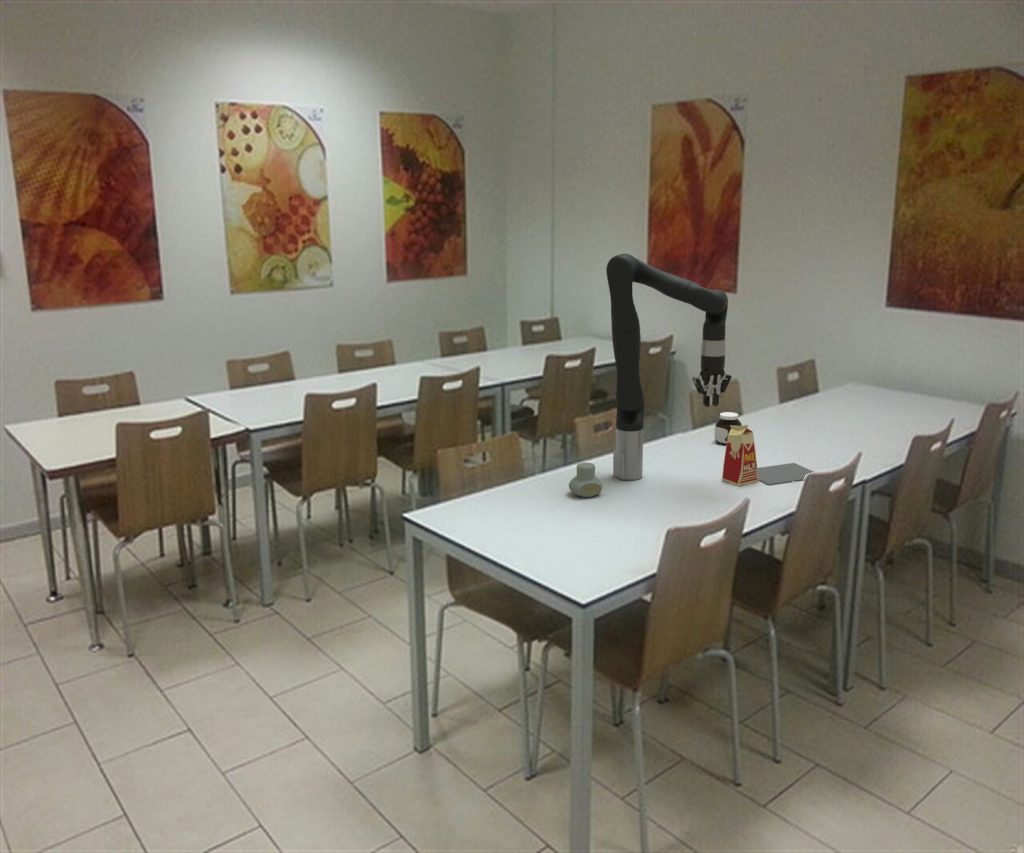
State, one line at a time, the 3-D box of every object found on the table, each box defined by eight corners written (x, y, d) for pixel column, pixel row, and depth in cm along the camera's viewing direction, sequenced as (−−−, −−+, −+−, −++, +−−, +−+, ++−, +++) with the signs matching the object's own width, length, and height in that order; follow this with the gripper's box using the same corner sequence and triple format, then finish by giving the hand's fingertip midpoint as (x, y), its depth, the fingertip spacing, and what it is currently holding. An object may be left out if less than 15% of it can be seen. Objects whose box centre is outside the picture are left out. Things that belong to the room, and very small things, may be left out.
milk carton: (758, 481, 288) (762, 424, 283) (739, 486, 283) (742, 428, 278) (738, 474, 295) (741, 418, 290) (718, 479, 291) (721, 422, 285)
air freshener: (574, 500, 274) (574, 470, 271) (565, 492, 282) (565, 463, 279) (606, 496, 277) (606, 467, 274) (596, 488, 284) (597, 459, 282)
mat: (768, 485, 284) (768, 484, 284) (740, 471, 298) (740, 470, 298) (823, 477, 291) (823, 476, 290) (794, 464, 305) (794, 462, 305)
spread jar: (712, 444, 331) (713, 415, 328) (719, 437, 340) (721, 408, 337) (743, 448, 325) (745, 418, 322) (750, 440, 335) (752, 411, 332)
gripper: (700, 357, 268) (698, 410, 273) (738, 353, 273) (735, 406, 277) (687, 353, 275) (686, 405, 280) (725, 349, 279) (723, 401, 284)
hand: (710, 405), depth 278 cm, fingers closed
